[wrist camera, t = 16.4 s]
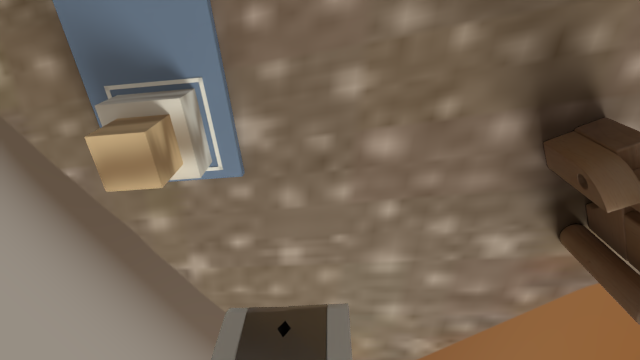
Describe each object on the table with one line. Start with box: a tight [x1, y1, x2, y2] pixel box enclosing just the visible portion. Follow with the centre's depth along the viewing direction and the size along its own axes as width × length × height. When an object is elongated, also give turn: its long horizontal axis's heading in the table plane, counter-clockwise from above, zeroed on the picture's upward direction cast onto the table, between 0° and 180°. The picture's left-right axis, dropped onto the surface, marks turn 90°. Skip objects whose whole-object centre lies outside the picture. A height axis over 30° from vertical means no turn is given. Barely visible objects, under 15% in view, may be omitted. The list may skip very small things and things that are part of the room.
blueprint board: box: [53, 0, 244, 182], centre depth 36 cm, size 22×14×1 cm, turn 5°
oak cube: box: [85, 114, 183, 192], centre depth 32 cm, size 5×5×5 cm
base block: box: [95, 88, 212, 180], centre depth 36 cm, size 8×8×4 cm
